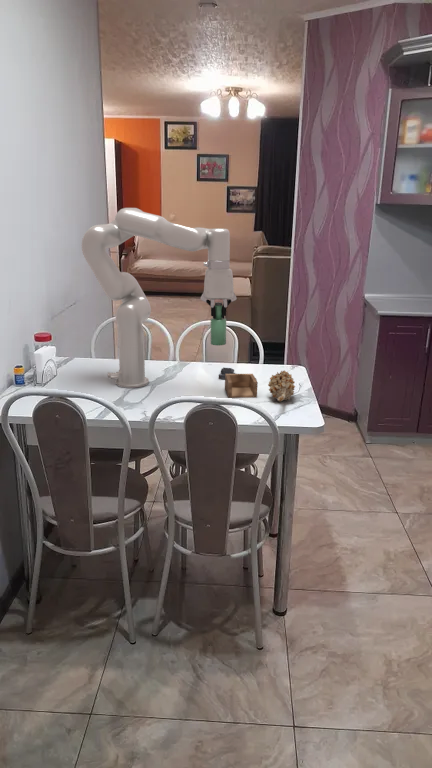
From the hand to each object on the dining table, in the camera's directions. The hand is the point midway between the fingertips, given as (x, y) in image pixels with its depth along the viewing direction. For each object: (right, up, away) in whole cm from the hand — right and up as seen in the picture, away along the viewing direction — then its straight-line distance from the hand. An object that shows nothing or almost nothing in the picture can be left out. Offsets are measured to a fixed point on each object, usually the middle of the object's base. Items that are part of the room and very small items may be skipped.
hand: (218, 317), depth 196 cm
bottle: (0, -9, +3) cm, 9 cm away
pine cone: (+22, -30, -1) cm, 38 cm away
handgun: (+8, -21, +27) cm, 35 cm away
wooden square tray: (+8, -27, +7) cm, 29 cm away
